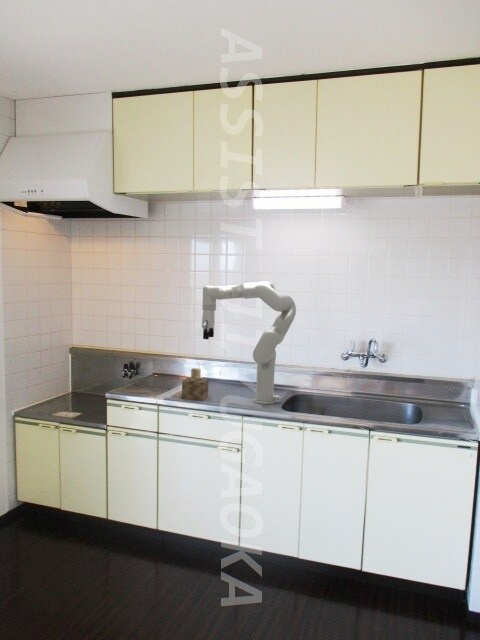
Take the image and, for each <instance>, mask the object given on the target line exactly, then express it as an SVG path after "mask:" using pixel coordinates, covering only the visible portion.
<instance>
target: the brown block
mask: <svg viewBox="0 0 480 640" xmlns="http://www.w3.org/2000/svg"><path fill="white" fill-rule="evenodd" d="M209 379H210V378H204V377H202V378H201V377H200V381H191V376H190V377H189V376H188V377H186V378H184V379H183V380H182V381H181V382H182V383H181V386H182V387H181V390H182V391H181V399H182V400H194V401H205V400H206V399H207V398H208V397H209V384H210V383H209Z"/></svg>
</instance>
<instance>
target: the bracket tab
mask: <svg viewBox="0 0 480 640" xmlns="http://www.w3.org/2000/svg"><path fill="white" fill-rule="evenodd" d="M190 372H191V373H190V377H191V381H200V378H201V372H202V371H201V368H193V367H192V368H191V370H190Z"/></svg>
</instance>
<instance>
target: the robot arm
mask: <svg viewBox="0 0 480 640" xmlns="http://www.w3.org/2000/svg"><path fill="white" fill-rule="evenodd" d="M258 298H259V299H261V301H262V302H264V304H266V305H267V307H269V308H271V309H272V310H274V311H275V312H279V314H278V315H277V316H276V318H275V320H274V322H273V324H272V325H271V327H270V328H268V329H266V330H265V331H264V332H263V333H262V334H261V336H260V338H259V340H258V342H257V344H256V345H255V347H254V349H253V351H252V359H253V361H254V362H255V363H256V364H257V365H256V382H255V383H256V386H255V387H256V388H255V390H256V391H255V397H253V398H252V401H253V402H254V403H255V404H260V405H261V404H262V405H270V404H271V405H273V404H275V403H276V402H277V400H278V401H281V400H282V396H280V395H276V394H275V392H274V387H275V386H274V385H275V367H276V359H277V358H276V357H277V352H276V348H277V346H278V345H280V344H282V342H283V341H284V339H285V336H286V335H287V333H288V332H289V329H290V327H291V325H292V323H293V321H294V319H295V317H296V313H297V306H296V303H295V301H294V300H293V298H292V297H291V296H290V295H288V294H280V293H279V292H277V290H276V288H275V285H274V283H272V282H270V281H268V280H267V281H257V282H256V281H255V282H254V281H253V282H244V283H242V284H236V285H235V284H234V285H233V284H232V285H217V286H215V285H204V286H203V288H202V318H201V319H202V320H201V327H202V339H203V340H209V339H210V338H215V337H214V335H215V333H214V332H215V316H216V315H215V312H216V311H217V300H219V301H220V300H221V301H222V300H231V299H245V300H246V299H258Z"/></svg>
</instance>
